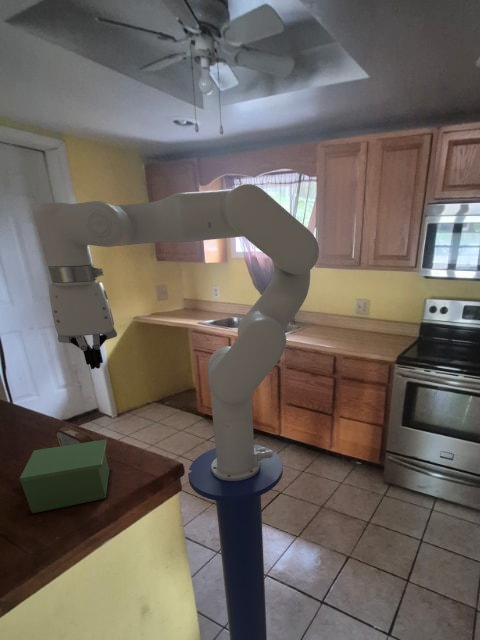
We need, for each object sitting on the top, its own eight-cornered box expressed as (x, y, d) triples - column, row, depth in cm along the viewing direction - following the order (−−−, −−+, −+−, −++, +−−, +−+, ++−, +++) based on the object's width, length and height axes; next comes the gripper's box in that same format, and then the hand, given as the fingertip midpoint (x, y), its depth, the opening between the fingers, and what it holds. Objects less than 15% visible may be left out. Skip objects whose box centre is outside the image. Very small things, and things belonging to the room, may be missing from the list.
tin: (105, 465, 92) (97, 435, 88) (92, 471, 89) (85, 441, 86) (70, 449, 99) (63, 420, 95) (58, 454, 96) (50, 425, 93)
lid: (106, 442, 87) (106, 439, 86) (102, 467, 77) (101, 464, 77) (34, 453, 82) (33, 450, 82) (20, 481, 72) (19, 478, 72)
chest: (109, 470, 90) (103, 442, 87) (105, 498, 80) (98, 468, 77) (44, 482, 85) (34, 453, 82) (31, 513, 75) (20, 482, 72)
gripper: (117, 272, 77) (134, 357, 84) (32, 276, 71) (58, 366, 79) (115, 275, 70) (134, 367, 78) (22, 279, 65) (51, 377, 72)
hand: (95, 366), depth 78 cm, fingers closed
